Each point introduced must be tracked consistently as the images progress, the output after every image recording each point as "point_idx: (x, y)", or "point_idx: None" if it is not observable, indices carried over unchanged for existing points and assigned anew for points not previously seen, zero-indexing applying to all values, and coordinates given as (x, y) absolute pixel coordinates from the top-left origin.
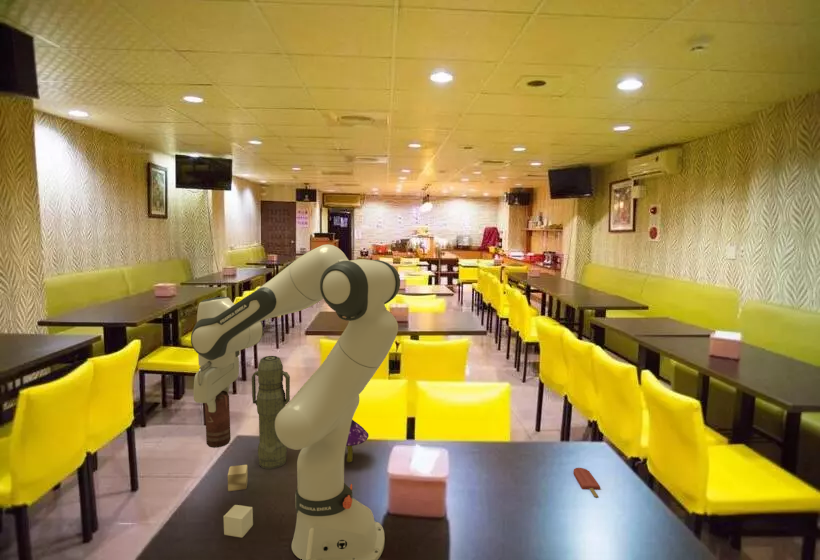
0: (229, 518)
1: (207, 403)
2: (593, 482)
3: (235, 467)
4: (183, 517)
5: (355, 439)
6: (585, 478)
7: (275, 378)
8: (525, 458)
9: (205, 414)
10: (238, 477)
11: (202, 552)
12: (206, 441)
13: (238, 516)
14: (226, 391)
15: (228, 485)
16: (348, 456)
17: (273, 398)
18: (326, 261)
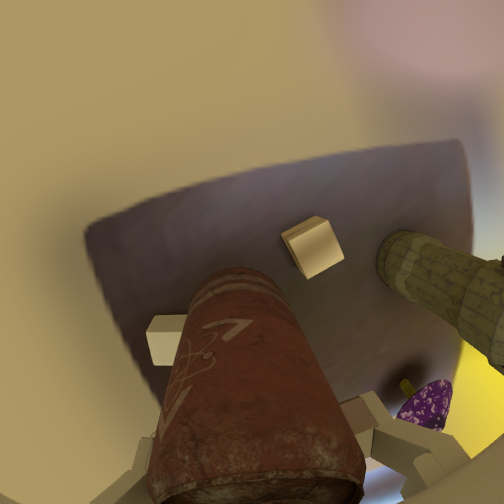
0: (148, 342)
1: (111, 489)
2: None
3: (326, 237)
4: (169, 205)
5: None
6: None
7: None
8: (390, 488)
9: (179, 365)
10: (297, 261)
11: (109, 307)
12: (199, 288)
13: (157, 357)
14: (398, 466)
15: (283, 237)
16: (404, 388)
17: (493, 357)
18: None
